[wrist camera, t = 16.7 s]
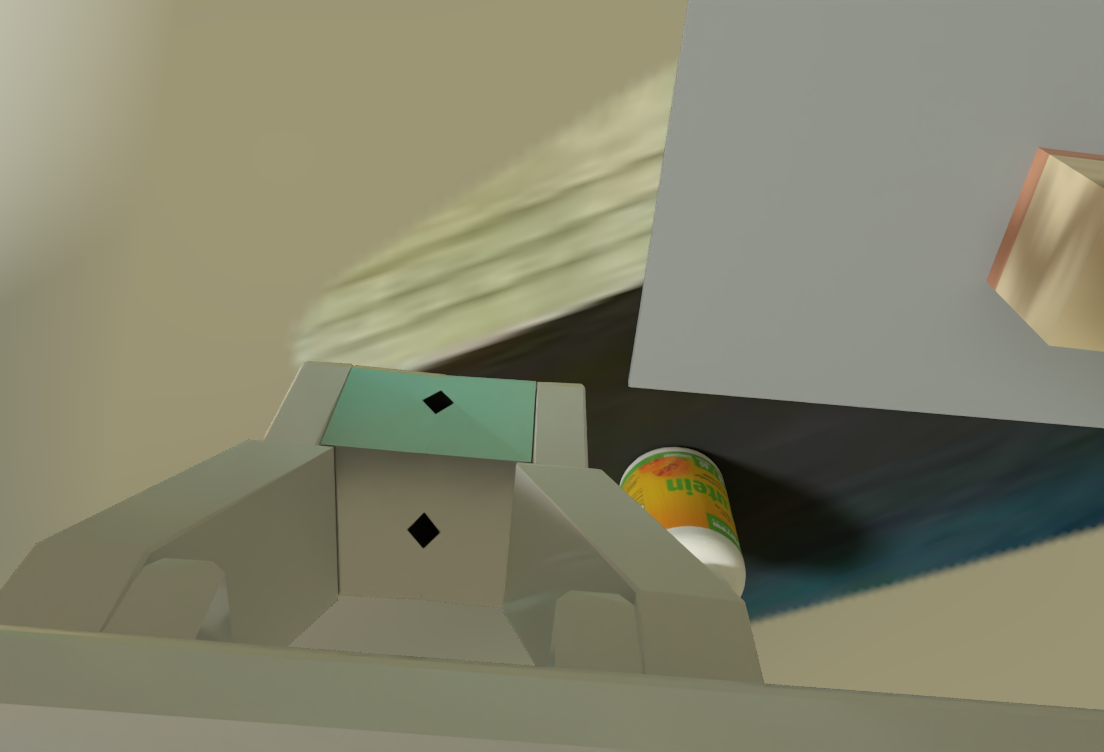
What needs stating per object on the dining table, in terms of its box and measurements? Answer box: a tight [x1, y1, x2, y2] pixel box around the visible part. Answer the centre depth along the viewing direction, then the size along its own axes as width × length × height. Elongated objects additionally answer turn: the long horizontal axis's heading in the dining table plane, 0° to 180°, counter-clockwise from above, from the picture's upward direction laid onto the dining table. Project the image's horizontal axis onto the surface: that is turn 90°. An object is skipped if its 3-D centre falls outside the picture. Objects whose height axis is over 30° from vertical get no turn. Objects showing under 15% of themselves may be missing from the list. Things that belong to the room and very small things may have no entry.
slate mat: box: [628, 0, 1104, 428], centre depth 39 cm, size 20×24×1 cm
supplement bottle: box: [620, 447, 746, 597], centre depth 42 cm, size 5×5×10 cm
